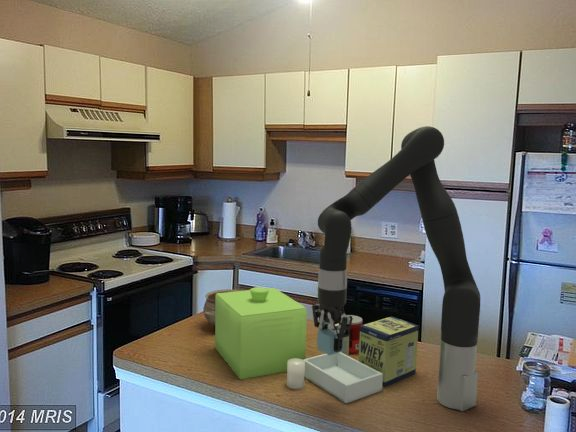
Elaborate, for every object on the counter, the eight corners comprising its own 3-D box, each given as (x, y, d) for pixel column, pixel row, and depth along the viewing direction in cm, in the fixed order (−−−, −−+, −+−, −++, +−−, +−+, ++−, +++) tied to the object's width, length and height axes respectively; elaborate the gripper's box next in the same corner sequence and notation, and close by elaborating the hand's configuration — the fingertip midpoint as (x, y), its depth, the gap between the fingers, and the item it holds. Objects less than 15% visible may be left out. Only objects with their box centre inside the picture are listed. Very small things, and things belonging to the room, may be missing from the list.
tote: (382, 390, 139) (382, 373, 138) (346, 403, 131) (346, 385, 130) (336, 365, 155) (337, 350, 154) (302, 375, 147) (302, 359, 146)
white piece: (307, 386, 140) (308, 363, 139) (293, 390, 137) (294, 367, 137) (297, 379, 144) (298, 357, 143) (283, 383, 141) (284, 360, 141)
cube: (343, 351, 130) (344, 332, 129) (329, 355, 127) (329, 336, 126) (331, 345, 134) (332, 327, 133) (317, 348, 131) (317, 330, 130)
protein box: (357, 374, 149) (359, 325, 147) (389, 361, 159) (392, 315, 157) (384, 387, 141) (386, 335, 139) (416, 373, 151) (419, 324, 149)
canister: (215, 348, 166) (215, 282, 163) (272, 340, 175) (274, 276, 172) (240, 380, 143) (241, 303, 141) (304, 368, 152) (307, 296, 150)
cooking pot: (230, 313, 202) (231, 284, 201) (267, 323, 192) (268, 292, 190) (186, 330, 182) (186, 298, 180) (225, 342, 171) (226, 308, 170)
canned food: (360, 346, 171) (362, 315, 170) (361, 355, 163) (363, 323, 162) (338, 344, 172) (339, 314, 171) (338, 353, 164) (340, 322, 163)
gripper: (362, 289, 125) (359, 353, 127) (325, 277, 136) (324, 336, 138) (339, 293, 120) (337, 360, 122) (304, 281, 132) (303, 342, 134)
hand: (330, 347), depth 130 cm, fingers closed on cube, 5 cm apart
